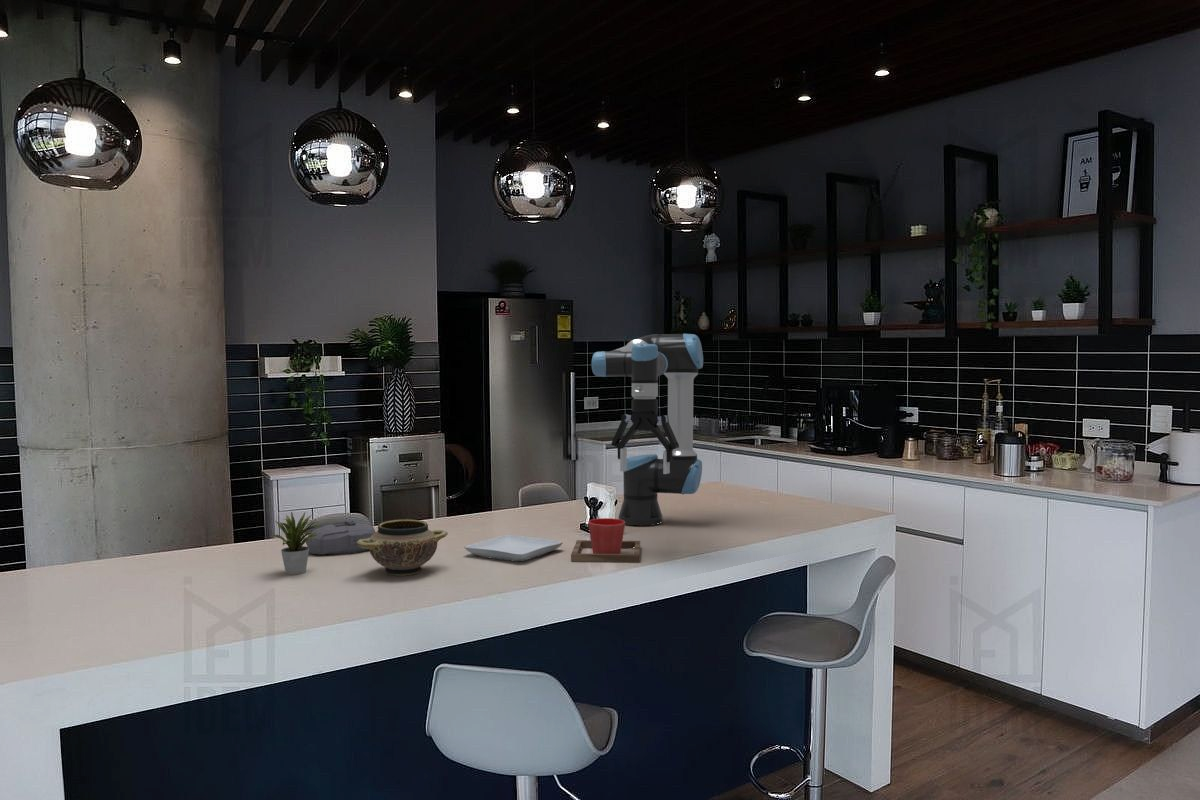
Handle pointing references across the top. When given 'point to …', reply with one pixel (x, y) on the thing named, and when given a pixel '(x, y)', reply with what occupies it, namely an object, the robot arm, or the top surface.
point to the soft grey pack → (339, 538)
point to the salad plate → (513, 547)
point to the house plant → (295, 544)
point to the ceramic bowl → (402, 545)
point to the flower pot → (606, 535)
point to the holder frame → (605, 557)
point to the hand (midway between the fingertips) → (644, 472)
